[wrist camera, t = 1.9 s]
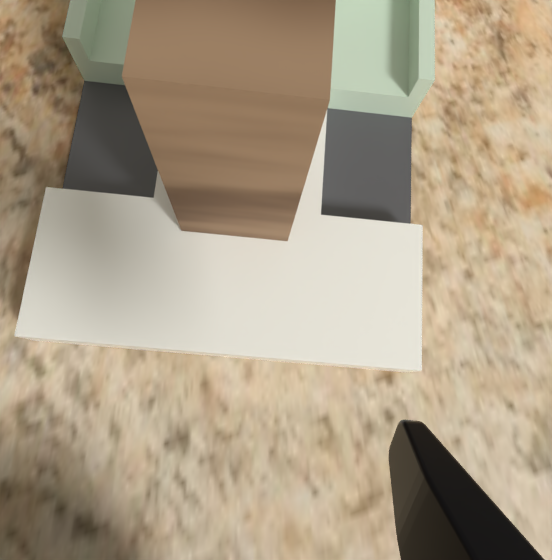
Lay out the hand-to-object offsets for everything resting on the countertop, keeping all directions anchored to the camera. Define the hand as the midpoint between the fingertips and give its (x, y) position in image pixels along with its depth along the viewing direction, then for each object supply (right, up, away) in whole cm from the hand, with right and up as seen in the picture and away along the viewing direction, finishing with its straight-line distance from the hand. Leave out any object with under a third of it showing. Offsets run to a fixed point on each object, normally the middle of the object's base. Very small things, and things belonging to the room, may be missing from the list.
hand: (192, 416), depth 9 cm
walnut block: (0, +7, +14) cm, 15 cm away
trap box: (0, +10, +16) cm, 20 cm away
